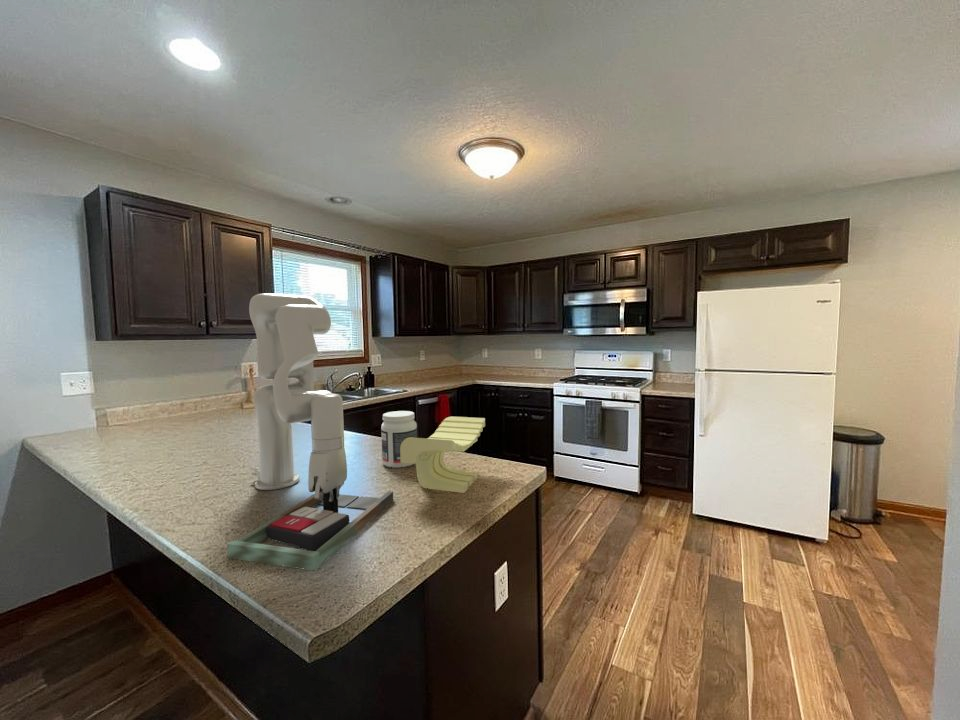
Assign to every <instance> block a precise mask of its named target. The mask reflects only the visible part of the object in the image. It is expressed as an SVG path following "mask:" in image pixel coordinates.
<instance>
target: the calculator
mask: <svg viewBox="0 0 960 720" xmlns="http://www.w3.org/2000/svg"><path fill="white" fill-rule="evenodd" d="M349 523H350V515H348V514H346V513H342V512H341V513H340V512H338V513H333V511H328V510H323V508H322V509H321V508H320V509H319V508H316V507H313V508H310V507H303V508H301V509H299V510H297V511H295V512H293V513H291V514H289V516H284V517H282V518H280V519H278V520H276V521H274V522H272V523H270V525H269V526H267V537H266V538H267V539H269V538H270V539H269V540H272V539H273V541H275V540H277V541H276V542H279V541H280V542H279V543H282V542H283V543H284V544H287V545H291V546H296V547H299V549H301V548H303V549H302V550H305V549H306V550H309V551H316V550H318V549H319V548H320V547H321V546H322V545H324V544H325V543H326V542H327V541H329V540H330V539H331V538H332V537H333V536H335V535H336V534H337V533H338V532H339V531H341V530H342V529H343V528H344V527H346V526H347V525H348V524H349Z"/></svg>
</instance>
